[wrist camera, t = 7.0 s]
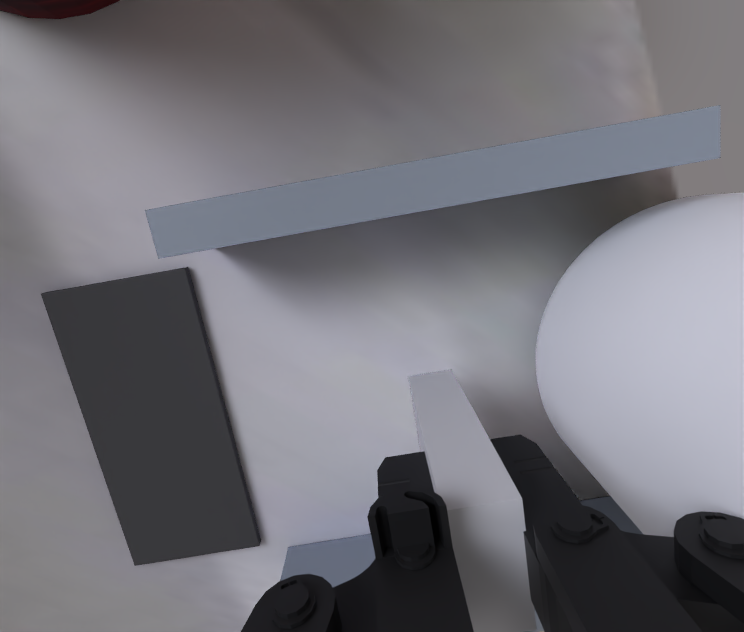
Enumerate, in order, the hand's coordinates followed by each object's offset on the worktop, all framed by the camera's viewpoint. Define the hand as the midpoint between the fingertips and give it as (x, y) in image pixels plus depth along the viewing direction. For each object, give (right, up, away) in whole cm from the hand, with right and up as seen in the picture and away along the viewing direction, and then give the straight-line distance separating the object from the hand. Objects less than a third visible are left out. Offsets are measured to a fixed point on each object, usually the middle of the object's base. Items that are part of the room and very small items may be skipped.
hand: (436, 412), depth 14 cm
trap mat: (-10, -1, +2) cm, 10 cm away
